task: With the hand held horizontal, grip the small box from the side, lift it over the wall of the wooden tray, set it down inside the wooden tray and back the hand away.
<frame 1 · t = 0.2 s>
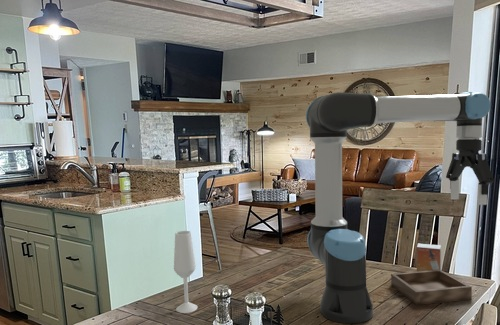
hand: (467, 201, 134), 28 cm above the table, tool pointing down, fingers open, 13 cm apart
small box: (428, 274, 145), on the table
wooden tray: (429, 292, 129), on the table
champagne flute: (186, 308, 124), on the table
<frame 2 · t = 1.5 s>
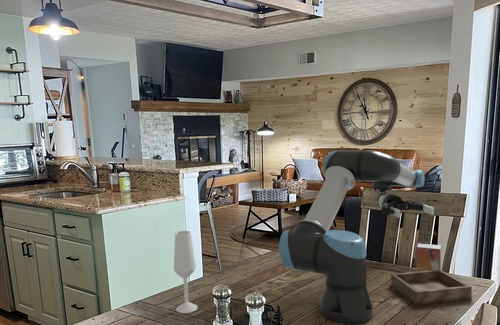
hand: (416, 212, 152), 21 cm above the table, tool horizontal, fingers open, 13 cm apart
nothing on the table moved.
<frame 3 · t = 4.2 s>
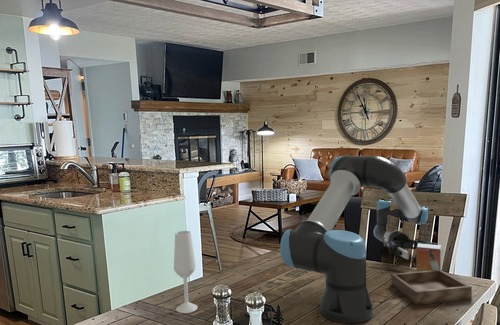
hand: (424, 254, 148), 6 cm above the table, tool horizontal, fingers open, 13 cm apart
nothing on the table moved.
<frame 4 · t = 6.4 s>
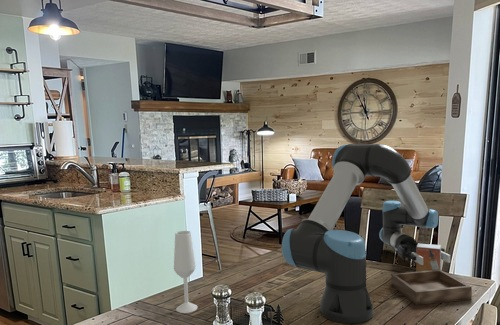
hand: (435, 260, 140), 7 cm above the table, tool horizontal, fingers closed on small box, 9 cm apart
small box: (428, 274, 145), on the table, touching gripper
everything else where it was.
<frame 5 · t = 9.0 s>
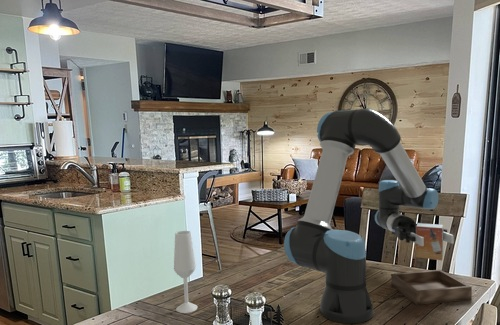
hand: (437, 240, 125), 18 cm above the table, tool horizontal, fingers closed on small box, 9 cm apart
small box: (429, 257, 130), point 11 cm above the table, touching gripper
everything else where it was.
when the fingers open (9 cm above the table, at t = 11.7 s): small box drops 2 cm, resting on wooden tray.
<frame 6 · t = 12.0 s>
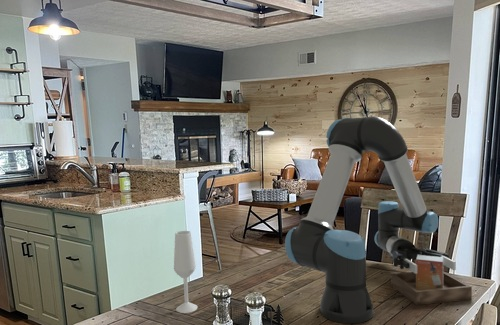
hand: (435, 267, 125), 9 cm above the table, tool horizontal, fingers open, 12 cm apart
small box: (429, 290, 129), point 1 cm above the table, touching wooden tray
everything else where it was.
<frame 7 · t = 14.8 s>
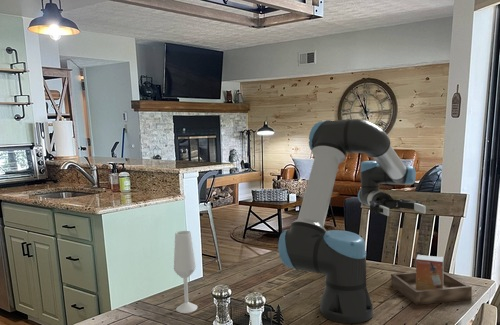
hand: (406, 211, 140), 24 cm above the table, tool horizontal, fingers open, 13 cm apart
nothing on the table moved.
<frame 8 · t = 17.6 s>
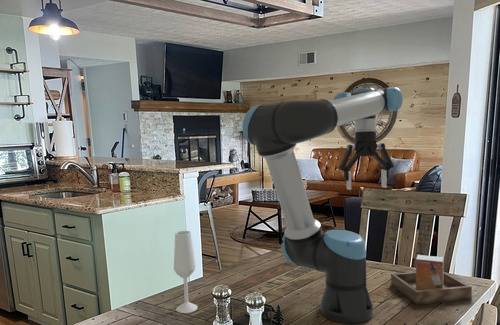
hand: (366, 188, 147), 32 cm above the table, tool pointing down, fingers open, 13 cm apart
nothing on the table moved.
at the end: small box inside the target area on the wooden tray (0.3 cm from its centre), point 0.6 cm above the wooden tray's base; small box tilted 0°; the gripper is holding nothing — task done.
